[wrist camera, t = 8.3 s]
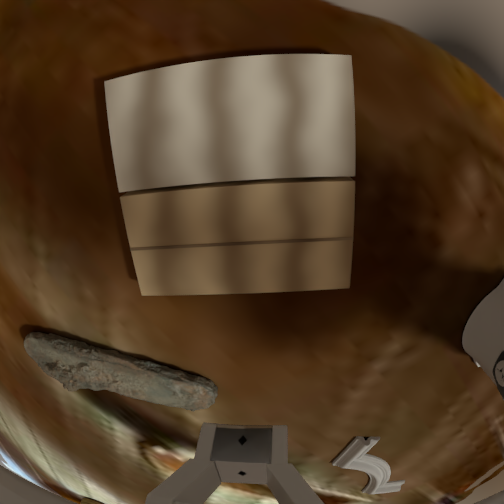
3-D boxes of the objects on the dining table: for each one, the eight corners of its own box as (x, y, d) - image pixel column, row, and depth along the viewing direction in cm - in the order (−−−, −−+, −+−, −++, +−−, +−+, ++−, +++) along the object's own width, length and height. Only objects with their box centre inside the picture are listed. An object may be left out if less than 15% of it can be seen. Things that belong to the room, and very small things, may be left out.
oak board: (348, 176, 32) (355, 181, 29) (344, 277, 36) (349, 288, 34) (129, 191, 33) (119, 197, 31) (148, 285, 38) (141, 295, 36)
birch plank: (344, 59, 26) (351, 55, 24) (348, 171, 31) (355, 176, 29) (114, 82, 28) (104, 81, 26) (128, 186, 33) (119, 192, 31)
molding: (406, 481, 65) (408, 488, 62) (368, 495, 68) (369, 502, 65) (374, 426, 50) (377, 438, 48) (317, 447, 53) (319, 459, 51)
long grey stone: (215, 402, 49) (221, 360, 46) (213, 425, 44) (219, 385, 41) (36, 360, 46) (24, 317, 43) (24, 377, 41) (9, 334, 38)
